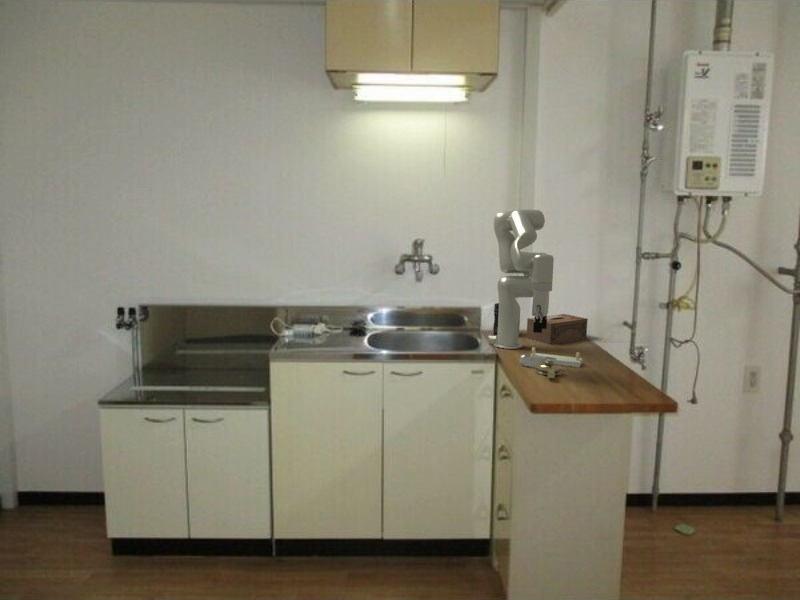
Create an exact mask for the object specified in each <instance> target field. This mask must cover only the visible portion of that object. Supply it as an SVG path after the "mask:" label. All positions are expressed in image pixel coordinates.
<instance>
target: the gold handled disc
mask: <svg viewBox="0 0 800 600" xmlns="http://www.w3.org/2000/svg"><path fill="white" fill-rule="evenodd" d="M560 367H561V365H558V364H555V363H553V361H545V362H543V363H539V364H538V368H537V369H538V370H539V371H541V372H545V373H547V376H546V377H547V378H548V379H555V377H556V376H555V373H558V372H559V371H561V369H560Z"/></svg>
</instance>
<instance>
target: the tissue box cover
mask: <svg viewBox="0 0 800 600" xmlns="http://www.w3.org/2000/svg"><path fill="white" fill-rule="evenodd" d="M545 319H546V318H545ZM526 320H527V323H526V324H527V325H526V338H528V339H527V340H530V339H532V340H531V341H534V340H536V341H535V342H538V341H540V342H539V343H542V342H543V344H546V343H547V344H546V345H554V344H553V343H556V344H559V343H558V342H562V343H565V342H564V341H568V342H571V341H570V340H574V341H577V340H576V339H580V340H583V339H582V338H586V339H587V335H588V334H587V333H588V332H587V331H588V318H586V317H580V316H575V315H572V314H565V313H562V314H561V313H560V314H555V315H554V314H553V315H547V328H546V329H542V333H535V332H533V327H534V317H529V318H527V319H526Z"/></svg>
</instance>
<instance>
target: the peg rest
mask: <svg viewBox="0 0 800 600" xmlns="http://www.w3.org/2000/svg"><path fill="white" fill-rule="evenodd" d="M530 355H536V356H544V357H553V358H556V364H558V365H560V366H562V365H563V366H564V367H570V366H572V368H580V367H581V365H582V363H583V358H582V357H581V352H579V351H578V352H576V353H575V357H573V356H567V355H556V354H548V353H547V354H546V353H541V352H540V353H538V352H536V347H531V354H530Z"/></svg>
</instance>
